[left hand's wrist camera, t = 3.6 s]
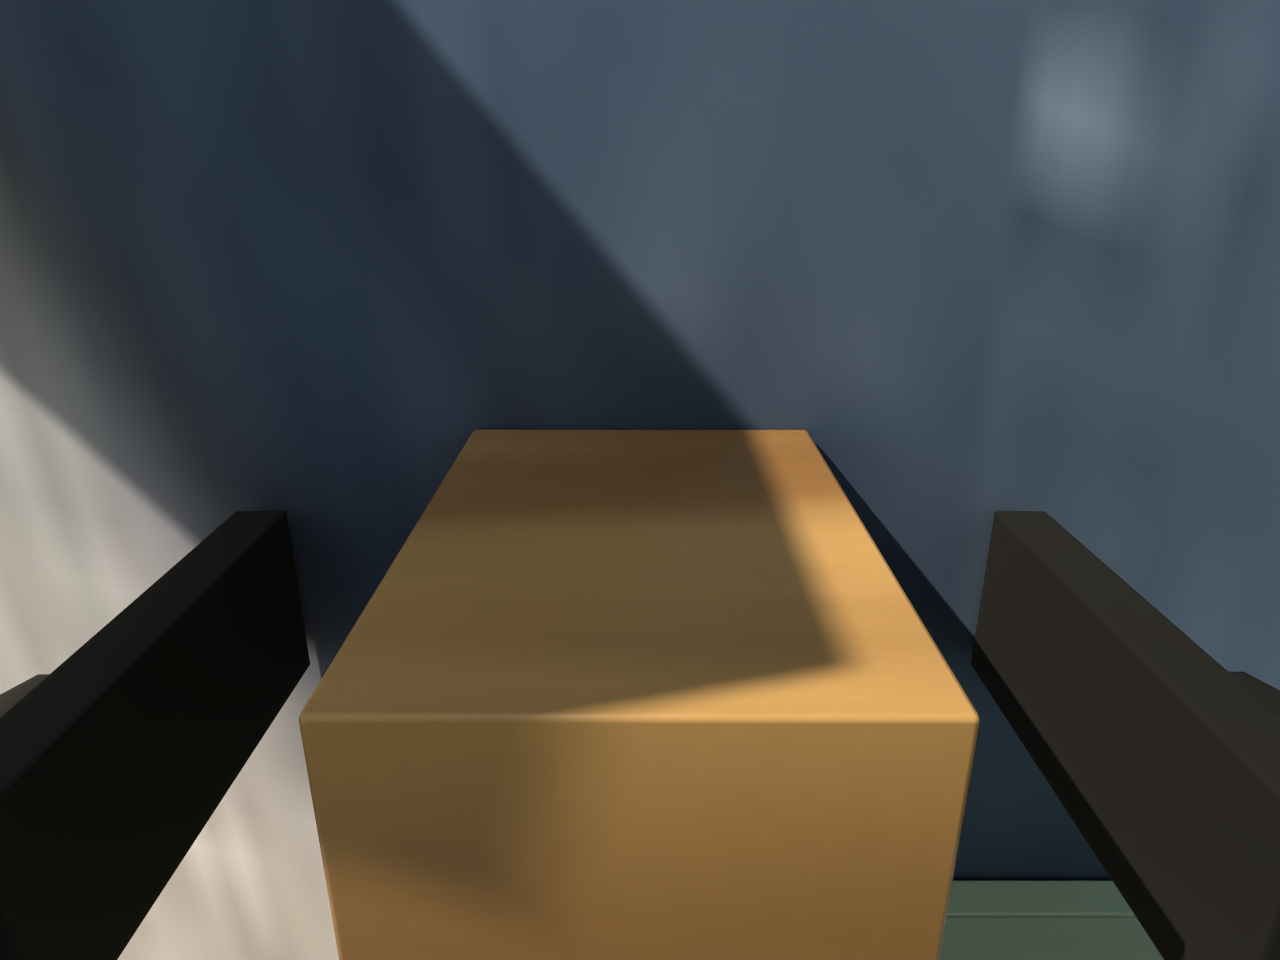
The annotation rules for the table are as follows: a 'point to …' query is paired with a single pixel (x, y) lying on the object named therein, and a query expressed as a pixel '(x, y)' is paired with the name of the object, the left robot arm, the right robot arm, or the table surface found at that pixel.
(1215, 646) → the table surface
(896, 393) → the table surface
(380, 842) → the beech block
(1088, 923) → the sage bin
